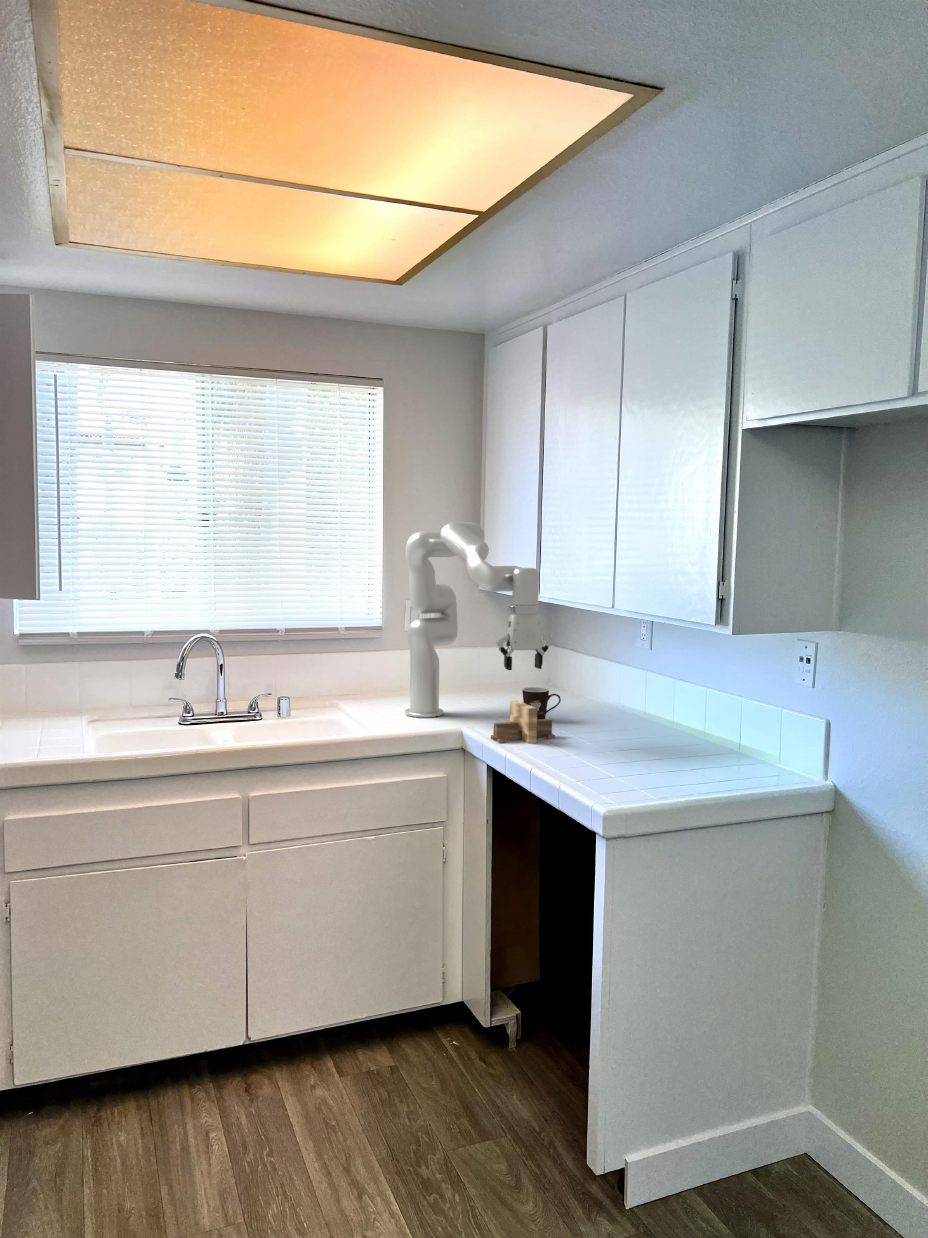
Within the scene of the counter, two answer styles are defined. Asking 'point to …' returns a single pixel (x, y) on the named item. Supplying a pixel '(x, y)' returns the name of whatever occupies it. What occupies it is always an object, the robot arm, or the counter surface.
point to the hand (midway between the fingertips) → (523, 668)
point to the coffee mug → (538, 700)
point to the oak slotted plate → (525, 720)
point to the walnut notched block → (511, 731)
